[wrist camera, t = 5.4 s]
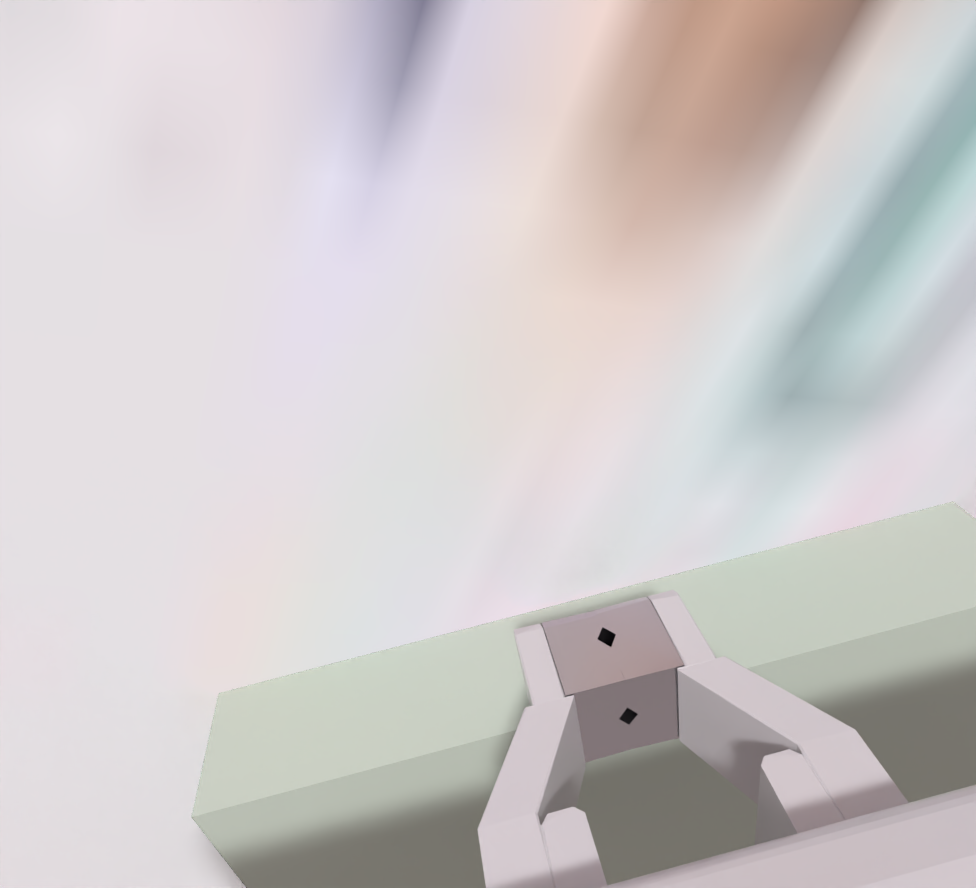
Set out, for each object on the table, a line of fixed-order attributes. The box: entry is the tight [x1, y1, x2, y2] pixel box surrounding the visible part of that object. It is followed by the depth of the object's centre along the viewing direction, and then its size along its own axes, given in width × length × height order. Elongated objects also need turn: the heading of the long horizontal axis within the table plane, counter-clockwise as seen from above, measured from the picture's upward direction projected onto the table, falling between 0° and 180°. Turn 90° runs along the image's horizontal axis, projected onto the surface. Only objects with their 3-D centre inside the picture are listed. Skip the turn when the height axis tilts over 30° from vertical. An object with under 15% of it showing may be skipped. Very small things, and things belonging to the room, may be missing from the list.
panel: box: [192, 502, 976, 888], centre depth 16 cm, size 16×12×3 cm
